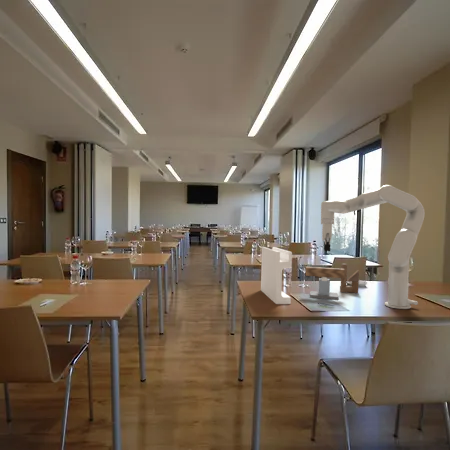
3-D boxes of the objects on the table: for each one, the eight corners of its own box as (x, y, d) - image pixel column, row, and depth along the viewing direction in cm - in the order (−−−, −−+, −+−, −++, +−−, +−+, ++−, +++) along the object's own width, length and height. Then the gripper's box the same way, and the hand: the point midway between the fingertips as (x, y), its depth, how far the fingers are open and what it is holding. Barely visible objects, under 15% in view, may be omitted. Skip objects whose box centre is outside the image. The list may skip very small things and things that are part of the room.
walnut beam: (343, 277, 204) (343, 268, 204) (344, 278, 200) (344, 269, 200) (305, 274, 209) (305, 266, 209) (305, 275, 205) (305, 267, 205)
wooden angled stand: (358, 293, 216) (359, 264, 216) (340, 292, 218) (341, 264, 218) (357, 292, 220) (357, 264, 220) (339, 291, 222) (340, 263, 221)
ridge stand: (337, 295, 209) (337, 275, 208) (338, 299, 197) (339, 278, 197) (310, 293, 213) (310, 274, 212) (309, 297, 201) (310, 277, 201)
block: (260, 290, 218) (262, 246, 218) (273, 290, 219) (274, 246, 219) (276, 304, 183) (277, 252, 183) (290, 303, 185) (292, 252, 184)
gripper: (320, 221, 213) (320, 249, 213) (321, 221, 196) (320, 251, 196) (333, 221, 211) (332, 249, 211) (334, 221, 194) (334, 251, 194)
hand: (327, 250), depth 204 cm, fingers open, 9 cm apart
